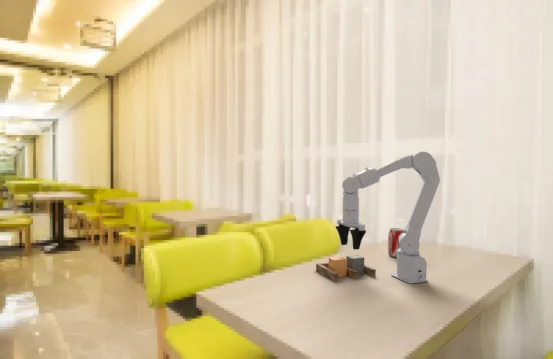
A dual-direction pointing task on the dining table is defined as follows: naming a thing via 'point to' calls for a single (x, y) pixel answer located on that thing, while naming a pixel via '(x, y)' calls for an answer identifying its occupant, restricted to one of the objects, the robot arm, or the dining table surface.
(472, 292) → the dining table surface
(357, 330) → the dining table surface
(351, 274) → the cable comb
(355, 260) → the charcoal plug
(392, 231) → the soda can
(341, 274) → the orange block
